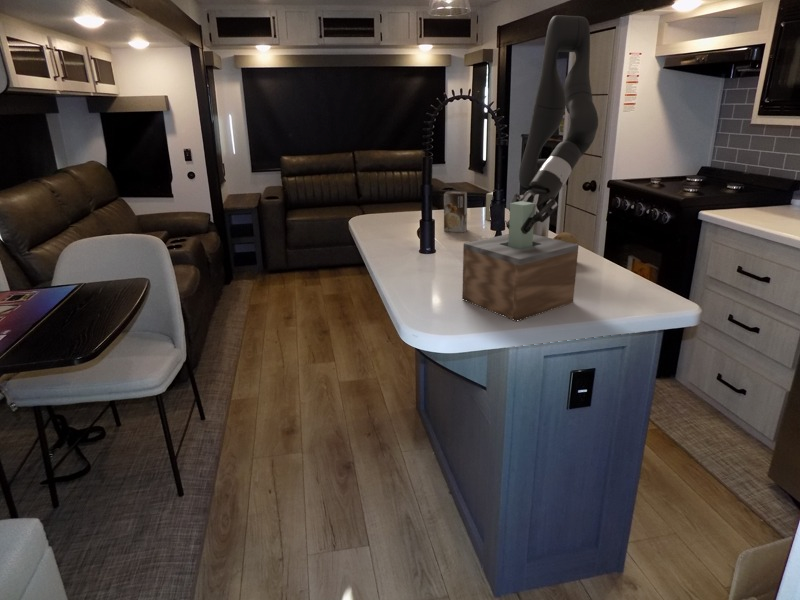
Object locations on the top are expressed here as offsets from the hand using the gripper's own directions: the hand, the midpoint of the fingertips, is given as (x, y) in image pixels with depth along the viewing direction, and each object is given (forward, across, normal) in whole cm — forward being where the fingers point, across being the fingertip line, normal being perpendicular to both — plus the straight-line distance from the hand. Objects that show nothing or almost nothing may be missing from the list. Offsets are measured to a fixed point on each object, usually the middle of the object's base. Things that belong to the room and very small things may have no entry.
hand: (516, 229), depth 139 cm
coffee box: (-18, -76, +47) cm, 91 cm away
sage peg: (+2, 0, +5) cm, 6 cm away
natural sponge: (-16, -17, +45) cm, 50 cm away
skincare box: (-38, -82, +67) cm, 112 cm away
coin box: (+13, 0, +16) cm, 20 cm away
